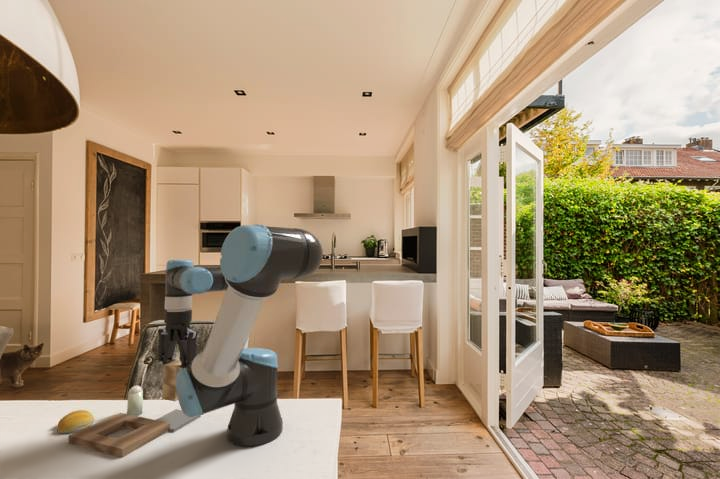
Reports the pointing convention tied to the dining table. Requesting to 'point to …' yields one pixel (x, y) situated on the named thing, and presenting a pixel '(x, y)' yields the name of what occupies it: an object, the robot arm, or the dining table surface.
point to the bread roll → (75, 421)
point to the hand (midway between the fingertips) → (175, 386)
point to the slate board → (177, 419)
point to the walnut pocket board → (99, 439)
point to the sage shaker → (135, 401)
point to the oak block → (170, 380)
